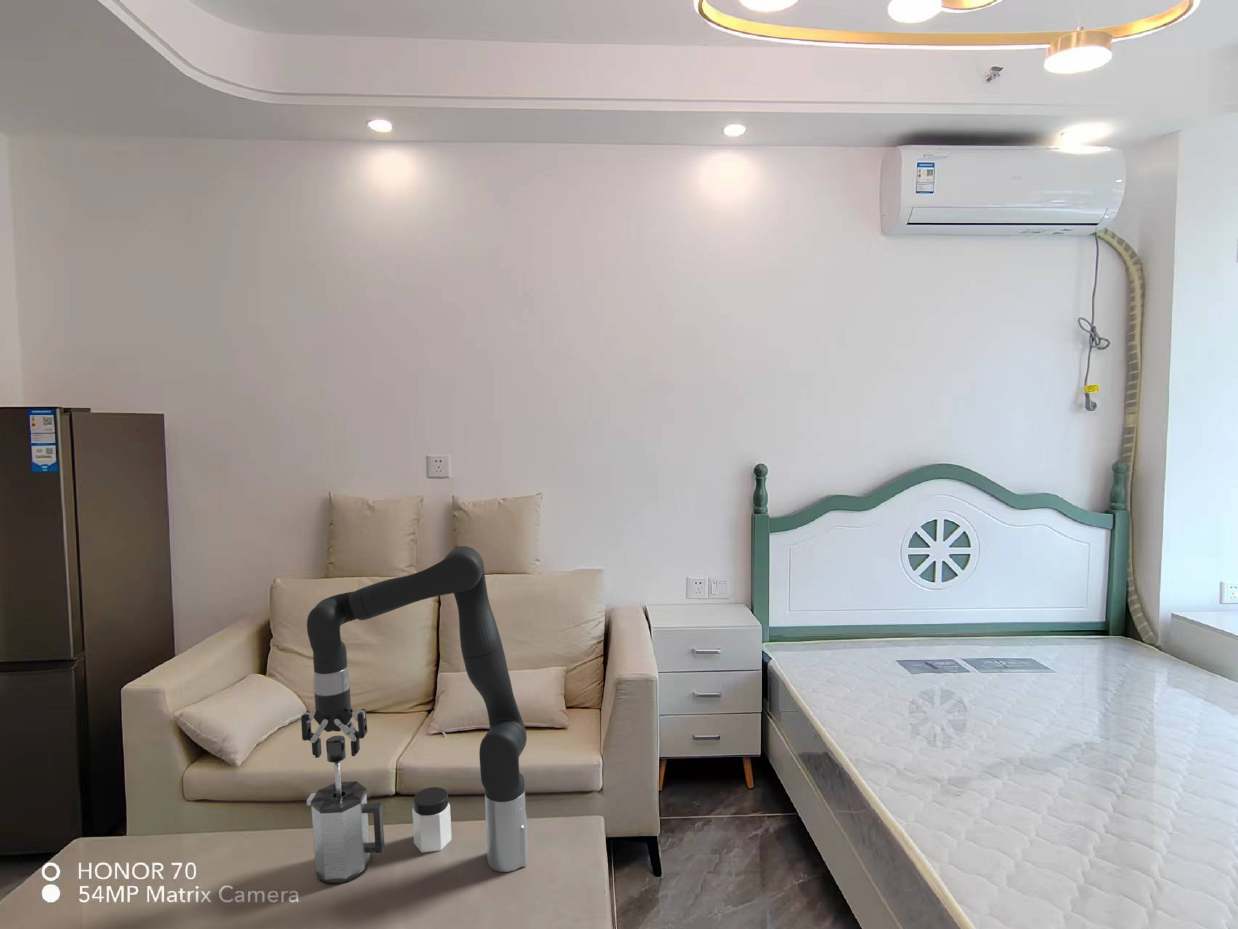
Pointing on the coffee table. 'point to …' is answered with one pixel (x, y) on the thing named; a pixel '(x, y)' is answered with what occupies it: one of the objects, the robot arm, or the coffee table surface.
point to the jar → (431, 819)
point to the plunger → (336, 758)
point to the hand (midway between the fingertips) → (336, 755)
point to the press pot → (344, 832)
